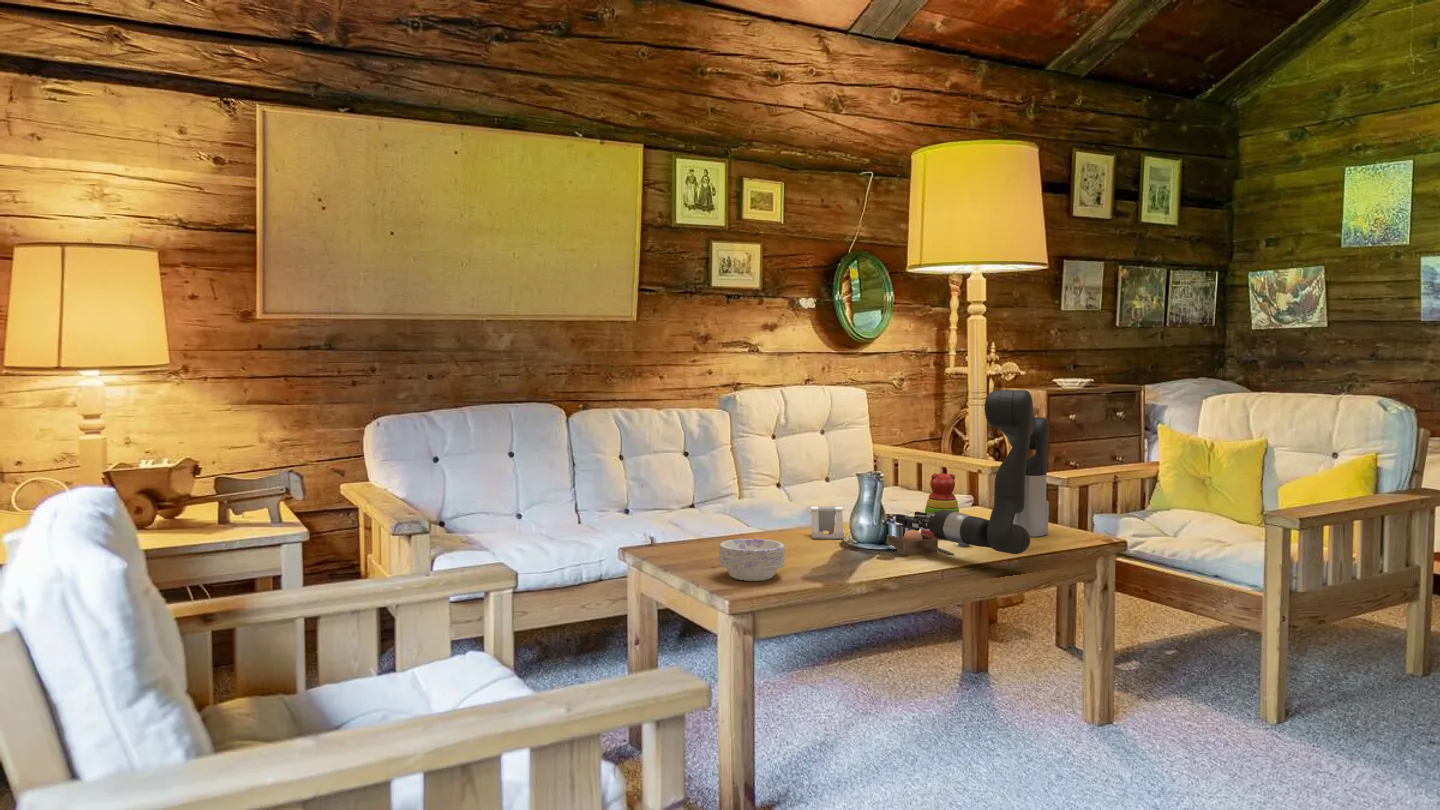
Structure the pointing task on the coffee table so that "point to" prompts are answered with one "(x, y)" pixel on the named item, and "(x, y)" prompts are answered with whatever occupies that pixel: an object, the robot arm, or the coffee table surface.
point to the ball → (912, 535)
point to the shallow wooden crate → (914, 545)
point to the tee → (963, 545)
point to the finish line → (945, 551)
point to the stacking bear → (941, 496)
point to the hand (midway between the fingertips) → (906, 516)
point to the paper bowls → (751, 558)
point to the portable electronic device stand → (827, 522)
